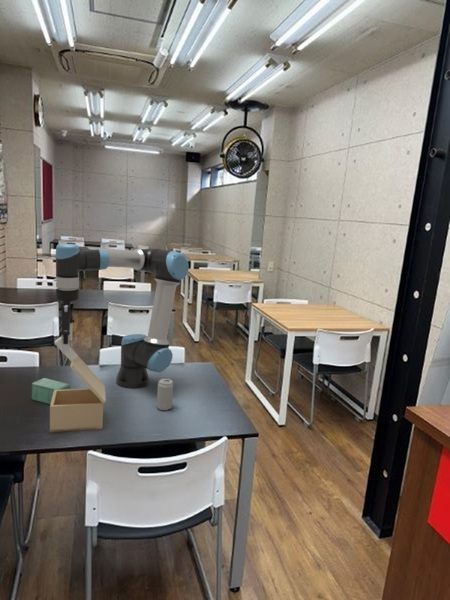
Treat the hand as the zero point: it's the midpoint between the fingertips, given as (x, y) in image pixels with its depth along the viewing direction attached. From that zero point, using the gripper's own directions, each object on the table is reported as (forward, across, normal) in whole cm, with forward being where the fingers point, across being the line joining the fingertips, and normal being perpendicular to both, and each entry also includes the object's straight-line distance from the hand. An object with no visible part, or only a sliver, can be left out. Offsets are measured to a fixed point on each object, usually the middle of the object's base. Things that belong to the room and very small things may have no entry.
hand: (67, 346), depth 145 cm
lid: (+9, 0, +4) cm, 10 cm away
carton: (+30, 0, +4) cm, 30 cm away
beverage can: (+30, -7, +38) cm, 49 cm away
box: (+30, -19, -8) cm, 37 cm away
